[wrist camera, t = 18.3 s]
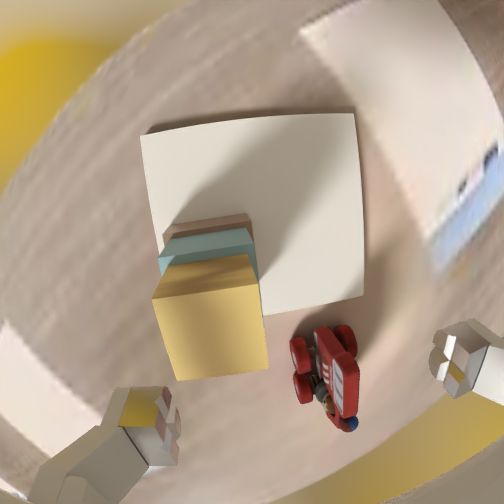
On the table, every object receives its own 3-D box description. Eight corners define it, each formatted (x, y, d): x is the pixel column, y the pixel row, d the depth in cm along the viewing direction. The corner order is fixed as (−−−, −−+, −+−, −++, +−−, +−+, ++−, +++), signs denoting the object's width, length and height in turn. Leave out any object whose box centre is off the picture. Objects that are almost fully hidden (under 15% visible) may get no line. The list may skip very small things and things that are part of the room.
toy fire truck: (295, 398, 35) (316, 458, 25) (285, 321, 32) (312, 382, 22) (344, 385, 36) (375, 439, 26) (344, 307, 32) (388, 358, 22)
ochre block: (247, 253, 18) (258, 283, 14) (256, 323, 20) (268, 368, 15) (167, 265, 18) (151, 299, 13) (184, 334, 19) (177, 380, 15)
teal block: (245, 227, 23) (253, 243, 18) (255, 297, 25) (264, 327, 20) (169, 239, 23) (157, 258, 18) (184, 308, 24) (178, 340, 19)
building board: (348, 115, 26) (373, 106, 21) (359, 291, 32) (380, 311, 27) (143, 137, 25) (127, 131, 20) (178, 322, 30) (173, 350, 25)
